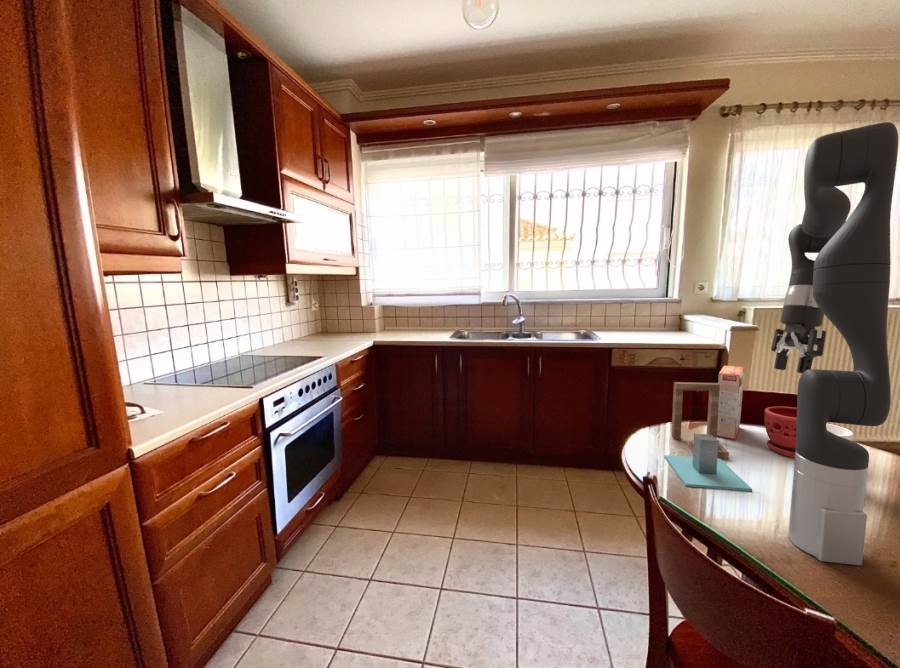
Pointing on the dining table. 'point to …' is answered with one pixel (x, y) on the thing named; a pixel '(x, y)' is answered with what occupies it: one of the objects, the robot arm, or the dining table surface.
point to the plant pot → (781, 429)
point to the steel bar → (705, 454)
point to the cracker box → (730, 401)
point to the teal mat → (706, 475)
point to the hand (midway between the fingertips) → (790, 371)
